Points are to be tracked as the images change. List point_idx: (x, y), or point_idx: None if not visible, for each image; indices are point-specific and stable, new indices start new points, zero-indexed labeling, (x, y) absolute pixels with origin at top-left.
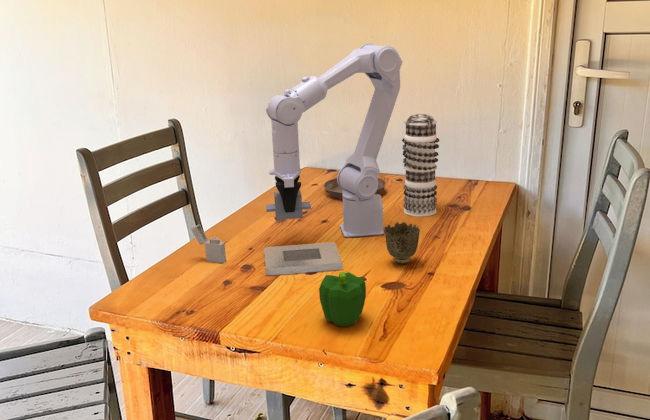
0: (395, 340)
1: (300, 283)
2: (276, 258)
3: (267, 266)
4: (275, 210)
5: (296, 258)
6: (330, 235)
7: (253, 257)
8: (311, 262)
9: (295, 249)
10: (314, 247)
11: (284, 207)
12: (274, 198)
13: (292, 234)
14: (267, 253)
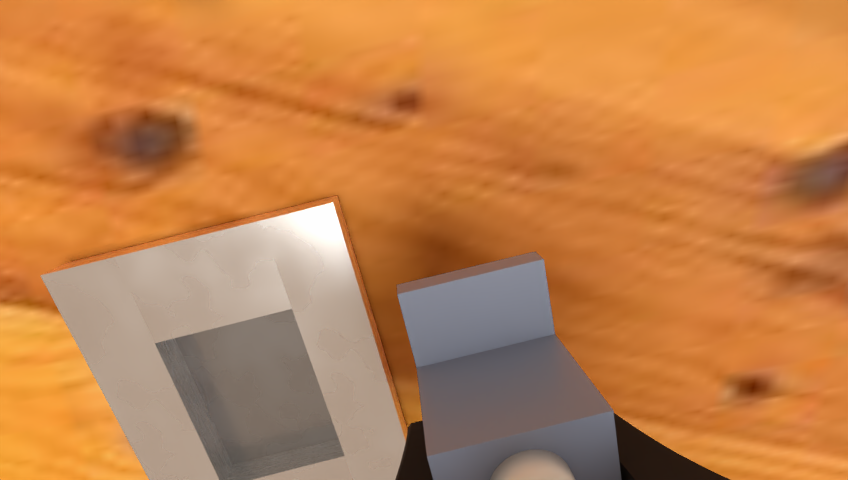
0: None
1: (30, 416)
2: (187, 299)
3: (71, 277)
4: (416, 359)
5: (286, 357)
6: None
7: (287, 146)
8: (168, 457)
9: (319, 363)
10: (352, 438)
11: (403, 455)
12: (514, 394)
13: (601, 278)
14: (248, 239)
